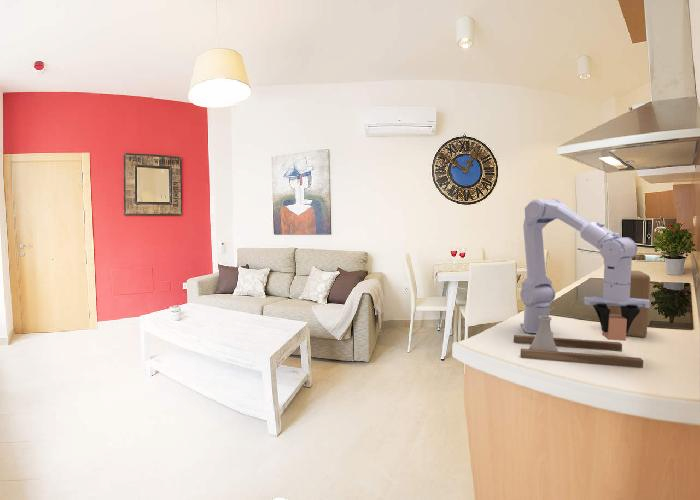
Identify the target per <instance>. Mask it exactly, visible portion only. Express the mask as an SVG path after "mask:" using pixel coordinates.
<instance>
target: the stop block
mask: <svg viewBox="0 0 700 500" xmlns="http://www.w3.org/2000/svg"><path fill="white" fill-rule="evenodd" d="M626 326H627V319H626V318H625V317H623V316H621V315H614V314H609V319H608V332H604V331H602V330H601V335H602V336H603V337H604V338H606V339H607V340H609V341H624V342H625V341H626V340H627V335H626Z"/></svg>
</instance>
